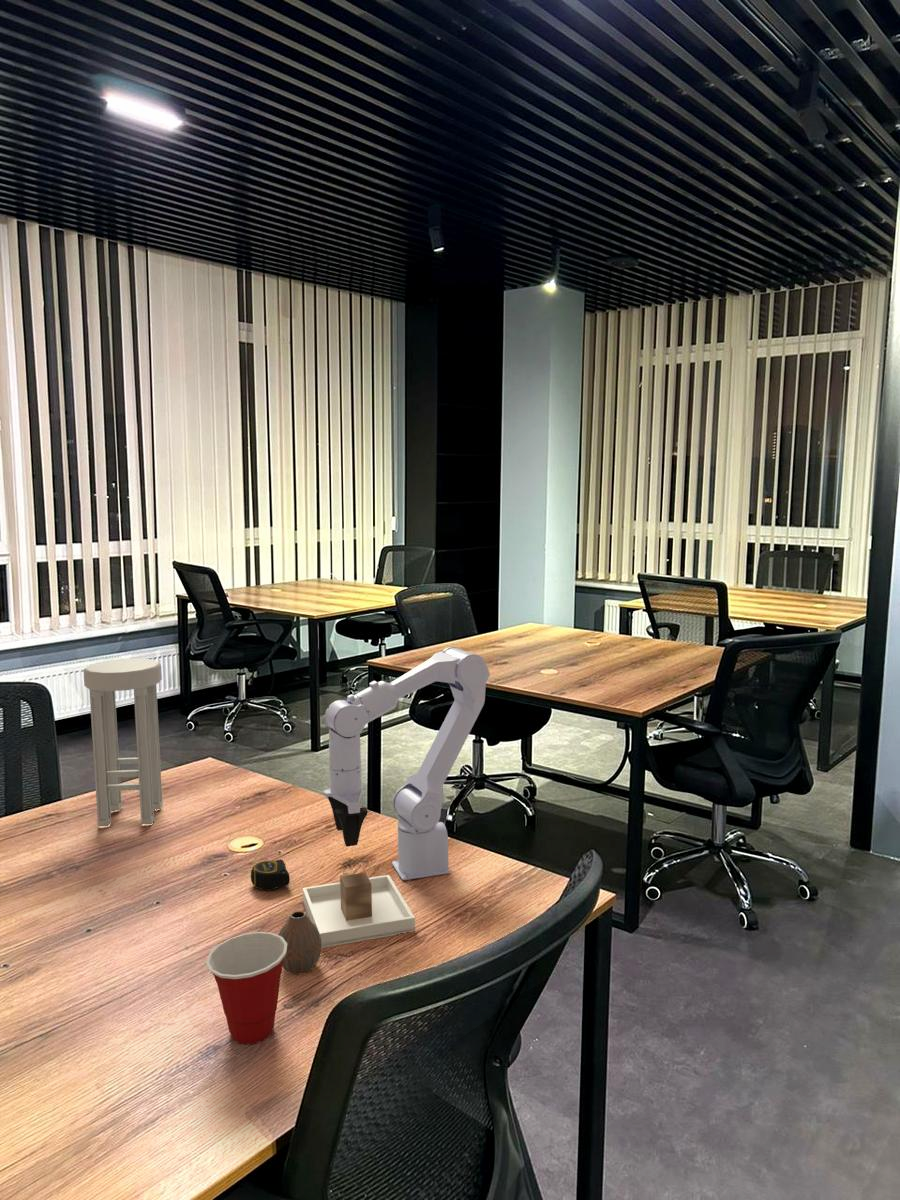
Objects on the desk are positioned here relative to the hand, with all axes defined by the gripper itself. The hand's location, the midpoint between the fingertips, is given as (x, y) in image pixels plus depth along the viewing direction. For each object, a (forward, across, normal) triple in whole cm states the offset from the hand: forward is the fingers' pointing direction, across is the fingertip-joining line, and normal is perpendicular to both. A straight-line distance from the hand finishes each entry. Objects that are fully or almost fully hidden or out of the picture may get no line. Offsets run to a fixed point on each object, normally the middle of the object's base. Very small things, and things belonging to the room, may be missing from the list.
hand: (346, 837), depth 163 cm
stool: (+10, -49, -39) cm, 63 cm away
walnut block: (+9, +12, -1) cm, 15 cm away
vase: (+10, +25, -13) cm, 30 cm away
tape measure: (+10, -6, -13) cm, 17 cm away
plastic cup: (+10, +39, -22) cm, 46 cm away
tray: (+9, +12, -1) cm, 15 cm away
